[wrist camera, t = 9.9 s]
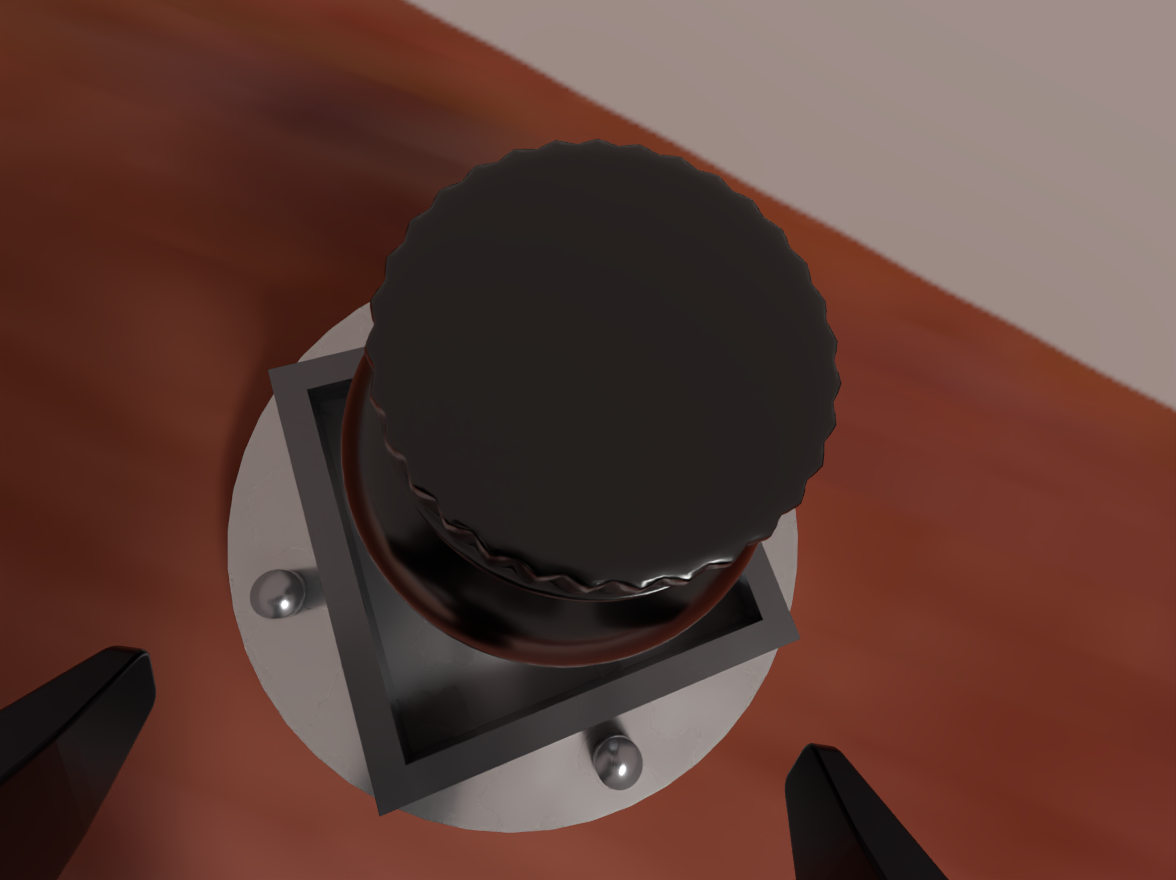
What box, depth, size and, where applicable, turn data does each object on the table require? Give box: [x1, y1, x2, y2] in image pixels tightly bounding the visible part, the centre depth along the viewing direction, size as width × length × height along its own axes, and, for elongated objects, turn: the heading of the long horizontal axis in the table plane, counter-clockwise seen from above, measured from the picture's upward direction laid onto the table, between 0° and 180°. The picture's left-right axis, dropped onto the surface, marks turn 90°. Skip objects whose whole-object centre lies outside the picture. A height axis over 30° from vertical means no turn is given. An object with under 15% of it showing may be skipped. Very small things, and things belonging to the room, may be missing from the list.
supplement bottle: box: [340, 139, 841, 668], centre depth 12 cm, size 7×7×12 cm
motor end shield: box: [228, 302, 800, 833], centre depth 18 cm, size 16×16×3 cm
